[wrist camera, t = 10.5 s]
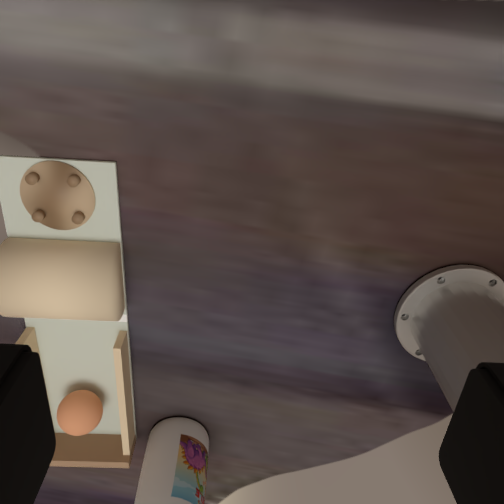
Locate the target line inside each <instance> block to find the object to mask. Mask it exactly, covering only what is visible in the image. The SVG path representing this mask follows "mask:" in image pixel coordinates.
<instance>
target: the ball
mask: <svg viewBox="0 0 504 504" xmlns="http://www.w3.org/2000/svg"><path fill="white" fill-rule="evenodd" d="M102 415H103V406H102V402H101V400H100V398H99V397H98V396H97V395H96V394H95V393H93V392H91V391H88V390H77V391H74V392H71V393H70V394H68V395H67V396H65V397H64V398H63V400H62V401H61V402H60V404H59V406H58V409H57V422H58V425H59V426H60V428H61V429H62V430H63V431H64V432H65V433H67V434H69V435H73V436H81V435H85V434H87V433H89V432H91V431H92V430H94V429H95V428H96V427H97V425H98V424H99V423H100V421H101V418H102Z"/></svg>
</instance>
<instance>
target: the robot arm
mask: <svg viewBox="0 0 504 504" xmlns="http://www.w3.org/2000/svg"><path fill="white" fill-rule="evenodd" d="M394 328H395V332H396V335H397V337H398V339H399V341H400V343H401V345H402V346H403V348H404V349H405V350H406V351H407V352H408V353H410V354H411V355H413V356H414V357H416V358H418V359H421V360H423V361H426V362H427V364H428V365H429V367H430V369H431V371H432V373H433V375H434V377H435V378H436V380H437V382H438V384H439V386H440V388H441V390H442V391H443V393H444V395H445V397H446V399H447V401H448V403H449V404H450V406H451V408H452V410H453V412H454V413H453V416H452V418H451V421H450V424H449V426H448V429H447V431H446V434H445V437H444V439H443V442H442V444H441V447H440V450H439V461H440V466H441V468H442V471H443V473H444V475H445V477H446V480H447V482H448V484H449V486H450V489H451V491H452V493H453V495H454V498H455V500H456V502H457V504H504V282H503V281H502V279H501V278H500V277H498V276H497V275H496V274H495V273H493V272H492V271H490V270H487V269H485V268H483V267H479V266H474V265H454V266H448V267H445V268H441V269H438V270H436V271H433V272H431V273H429V274H427V275H425V276H424V277H422V278H421V279H419V280H418V281H416V282H415V283H414V284H413V285H412V286H411V287H410V288H409V289H408V290H407V291H406V292H405V294H404V295H403V296H402V298H401V300H400V301H399V303H398V305H397V308H396V311H395V314H394ZM55 447H56V437H55V432H54V427H53V422H52V417H51V412H50V407H49V401H48V396H47V391H46V386H45V381H44V376H43V371H42V366H41V360H40V356H39V354H38V353H37V352H32V350H31V347H30V346H29V345H23V344H0V504H33V503H34V501H35V498H36V496H37V494H38V491H39V489H40V487H41V484H42V482H43V480H44V477H45V475H46V473H47V470H48V468H49V466H50V463H51V461H52V459H53V456H54V452H55Z"/></svg>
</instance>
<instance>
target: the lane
mask: <svg viewBox="0 0 504 504" xmlns="http://www.w3.org/2000/svg"><path fill="white" fill-rule="evenodd" d="M50 160H54V161H60V162H64V163H67V164H69V165H71V166H73V167H75V168H76V169H78V170H79V171H80V172H82V173H83V174H84V175H85V176H86V178H87V179H88V180H89V182H90V183H91V185H92V187H93V190H94V193H95V201H96V203H95V209H94V212H93V214H92V215H91V217H90V218H89V220H88V221H87V222H86V223H85V224H83V225H82V226H80V227H78V228H75V229H71V230H57V229H53V228H50V227H47V226H45V225H43V224H41V223H39V222H35V221H33V220H32V217H31V215H30V214H29V213H28V211H27V210H26V208H25V207H24V205H23V203H22V200H21V196H20V182H21V179H22V177H23V175H24V174H25V172H26V171H27V170H28V169H29V168H30V167H32V166H33V165H35V164H37V163H39V162H43V161H50ZM0 202H1V207H2V212H3V217H4V222H5V227H6V231H7V236H8V238H7V239H5V240H4V241H3V242H2V243H1V245H0V315H2V316H4V317H21V318H24V319H25V324H26V329H25V331H24V332H23V333H22V335H21V336H20V338H19V339H18V341H17V342H16V344H23V345H29V346H30V347H31V350H32V352H37V353H38V354H39V356H40V360H41V366H42V371H43V376H44V381H45V386H46V391H47V396H48V401H49V407H50V412H51V417H52V422H53V427H54V432H55V437H56V447H55V452H54V456H53V459H52V461H51V463H50V466H66V467H105V468H130V464H131V460H132V455H133V451H134V447H135V443H136V439H137V433H136V419H135V406H134V392H133V379H132V366H131V352H130V339H129V325H128V312H127V298H126V285H125V272H124V258H123V245H122V231H121V218H120V205H119V191H118V178H117V164H116V162H112V161H95V160H78V159H61V158H44V157H26V156H9V155H0ZM77 390H88V391H91V392H93V393H95V394H96V395H97V396H98V397H99V398H100V400H101V402H102V406H103V415H102V418H101V421H100V423H99V424H98V425H97V427H96V428H95V429H94V430H92V431H91V432H89V433H87V434H85V435H81V436H73V435H69V434H67V433H65V432H64V431H63V430H62V429H61V428H60V426H59V425H58V422H57V409H58V406H59V404H60V402H61V401H62V400H63V398H64V397H65V396H67V395H68V394H70V393H71V392H74V391H77Z"/></svg>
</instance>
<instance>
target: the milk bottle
mask: <svg viewBox="0 0 504 504" xmlns="http://www.w3.org/2000/svg"><path fill="white" fill-rule="evenodd" d="M208 451H209V437H208V434H207V432H206V430H205V428H204V427H203V426H202V425H201V424H199V423H198V422H196V421H194V420H192V419H188V418H183V417H173V418H168V419H165V420H162V421H161V422H159V423H158V424H156V425H155V427H154V428H153V429H152V430H151V432H150V435H149V439H148V443H147V447H146V452H145V456H144V461H143V465H142V470H141V474H140V479H139V484H138V489H137V493H136V498H135V503H134V504H204V502H205V490H206V478H207V465H208Z"/></svg>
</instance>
